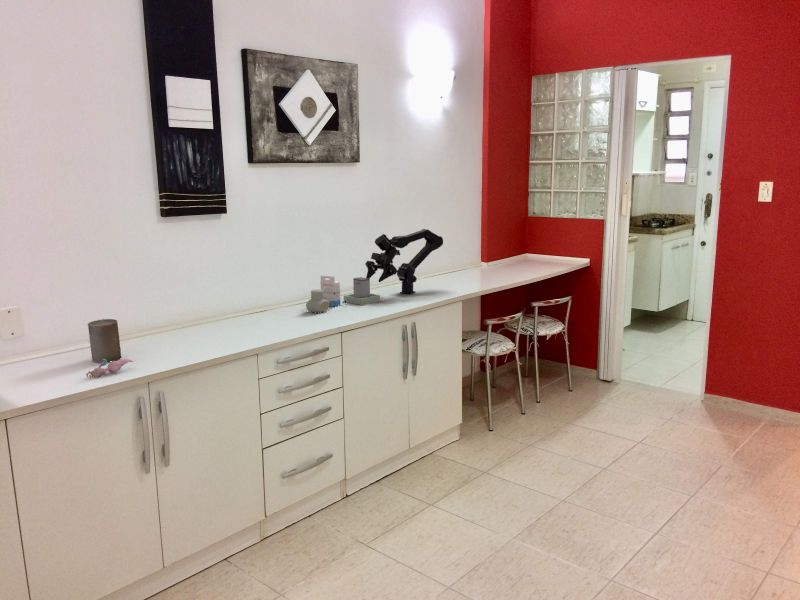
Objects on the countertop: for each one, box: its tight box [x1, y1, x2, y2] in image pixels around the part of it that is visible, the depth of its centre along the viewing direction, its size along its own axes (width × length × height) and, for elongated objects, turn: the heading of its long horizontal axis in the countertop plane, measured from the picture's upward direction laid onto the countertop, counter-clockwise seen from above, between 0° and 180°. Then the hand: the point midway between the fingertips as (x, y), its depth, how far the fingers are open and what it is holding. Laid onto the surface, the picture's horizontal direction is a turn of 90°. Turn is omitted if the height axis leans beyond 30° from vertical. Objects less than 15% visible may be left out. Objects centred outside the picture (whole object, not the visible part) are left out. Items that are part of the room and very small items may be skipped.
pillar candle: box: [87, 318, 122, 363], centre depth 235 cm, size 10×10×15 cm
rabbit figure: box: [85, 358, 134, 380], centre depth 220 cm, size 6×6×15 cm
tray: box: [342, 292, 381, 306], centre depth 333 cm, size 13×13×3 cm
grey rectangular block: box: [352, 276, 371, 298], centre depth 331 cm, size 6×7×11 cm
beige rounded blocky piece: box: [305, 289, 330, 314], centre depth 310 cm, size 11×8×10 cm
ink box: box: [319, 275, 342, 307], centre depth 323 cm, size 8×5×15 cm, turn 62°
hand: (372, 280), depth 336 cm, fingers open, 9 cm apart
